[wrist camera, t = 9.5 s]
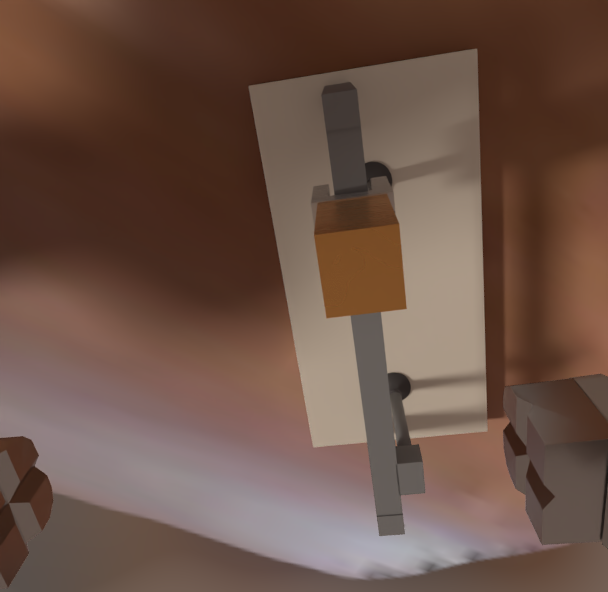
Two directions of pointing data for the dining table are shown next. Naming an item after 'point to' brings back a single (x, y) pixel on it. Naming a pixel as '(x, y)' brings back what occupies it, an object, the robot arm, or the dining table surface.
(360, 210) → the leg
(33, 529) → the robot arm
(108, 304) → the dining table surface
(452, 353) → the hole plate
